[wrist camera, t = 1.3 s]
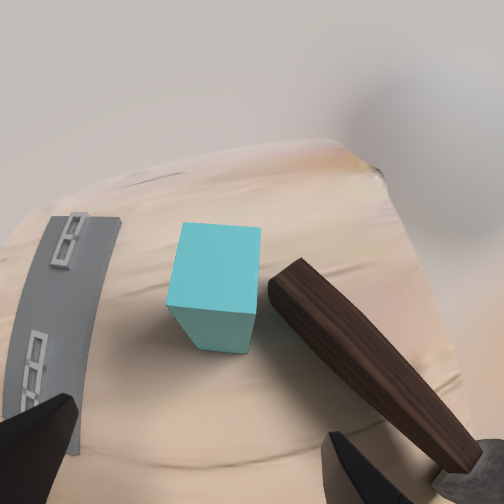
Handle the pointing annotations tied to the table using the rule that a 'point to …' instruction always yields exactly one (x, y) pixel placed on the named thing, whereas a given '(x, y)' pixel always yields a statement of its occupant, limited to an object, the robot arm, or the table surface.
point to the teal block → (216, 285)
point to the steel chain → (46, 339)
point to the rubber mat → (60, 314)
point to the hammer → (388, 384)
